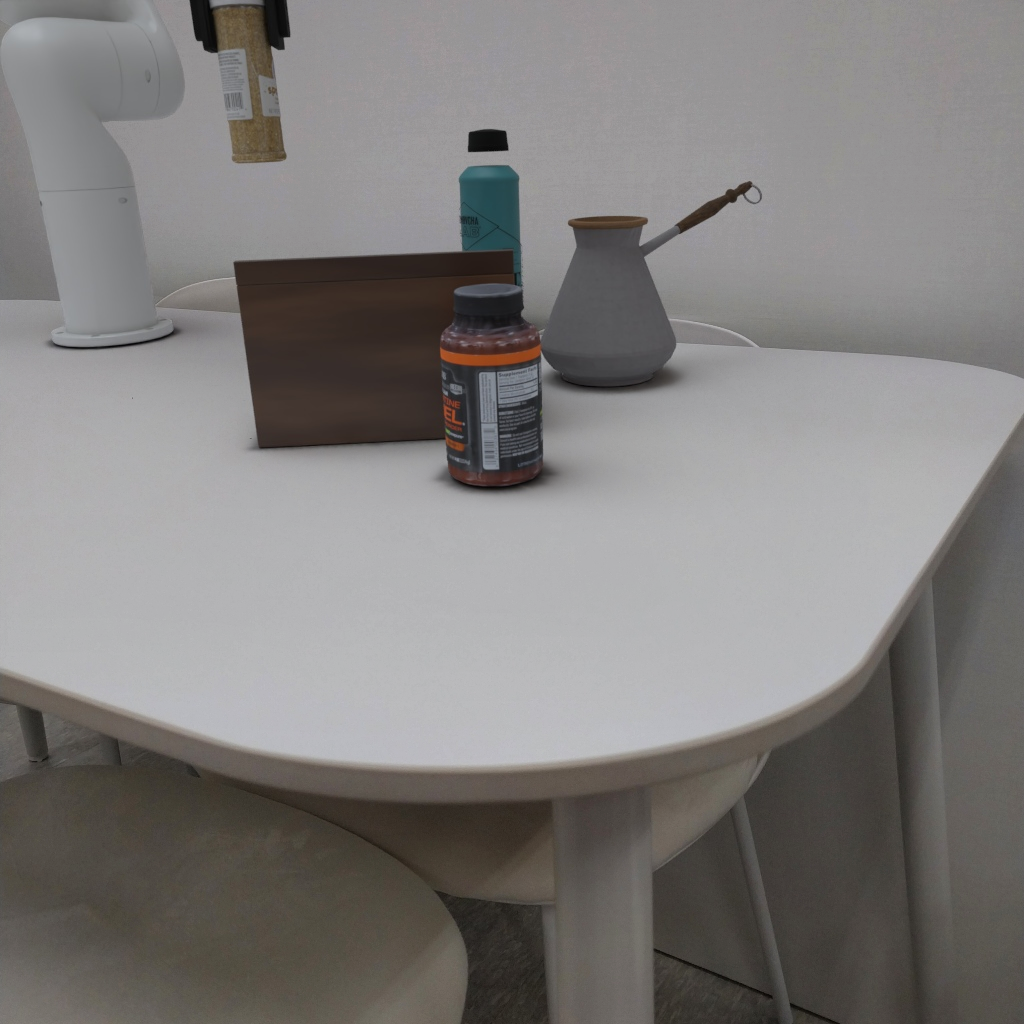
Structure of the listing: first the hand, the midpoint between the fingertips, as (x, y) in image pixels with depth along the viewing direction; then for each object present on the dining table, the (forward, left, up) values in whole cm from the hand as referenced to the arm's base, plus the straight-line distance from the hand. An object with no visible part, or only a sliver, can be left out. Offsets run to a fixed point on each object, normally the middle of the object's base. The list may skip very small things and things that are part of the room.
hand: (244, 47), depth 78 cm
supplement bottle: (+31, +18, -27) cm, 45 cm away
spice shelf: (+15, +11, -27) cm, 32 cm away
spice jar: (0, 0, -9) cm, 9 cm away
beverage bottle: (-17, +20, -27) cm, 38 cm away
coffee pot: (+5, +33, -27) cm, 43 cm away
